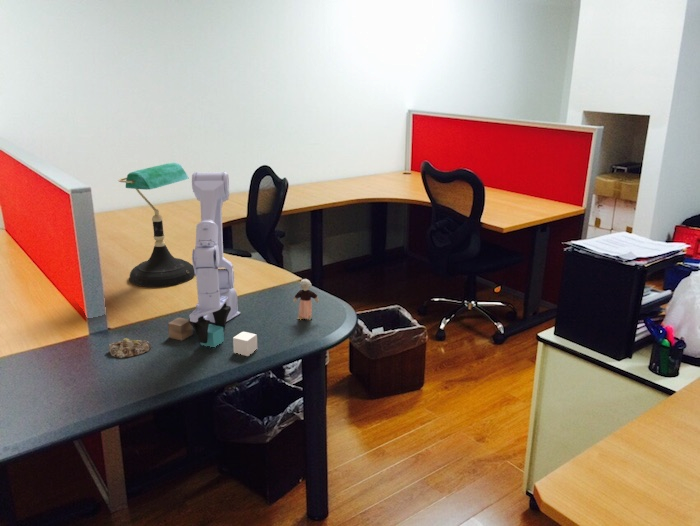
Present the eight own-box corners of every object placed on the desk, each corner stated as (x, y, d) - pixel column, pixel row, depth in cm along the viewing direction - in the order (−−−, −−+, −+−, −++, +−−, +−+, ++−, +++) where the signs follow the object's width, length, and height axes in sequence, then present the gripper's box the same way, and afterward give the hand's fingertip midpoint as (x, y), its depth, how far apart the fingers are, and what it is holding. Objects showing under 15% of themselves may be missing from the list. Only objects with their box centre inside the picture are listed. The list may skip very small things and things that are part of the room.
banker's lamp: (168, 292, 198) (156, 174, 186) (112, 284, 205) (97, 170, 193) (210, 268, 222) (202, 162, 210) (158, 262, 229) (148, 159, 217)
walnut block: (180, 331, 169) (178, 317, 167) (192, 334, 167) (191, 320, 165) (169, 337, 165) (167, 323, 163) (182, 340, 163) (180, 325, 162)
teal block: (211, 338, 164) (209, 324, 163) (224, 341, 162) (223, 327, 161) (200, 345, 160) (199, 330, 159) (214, 348, 159) (212, 333, 157)
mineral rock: (104, 353, 151) (110, 333, 157) (107, 365, 153) (112, 345, 160) (148, 351, 153) (151, 331, 159) (150, 363, 155) (153, 343, 162)
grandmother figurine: (294, 321, 175) (293, 281, 171) (293, 316, 179) (292, 277, 175) (319, 320, 176) (319, 280, 172) (318, 315, 180) (317, 276, 176)
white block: (243, 346, 160) (242, 331, 158) (257, 349, 158) (256, 334, 157) (233, 353, 156) (232, 337, 155) (247, 356, 154) (247, 341, 153)
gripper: (212, 279, 164) (216, 324, 169) (178, 296, 152) (182, 344, 156) (233, 283, 162) (236, 328, 166) (200, 301, 149) (204, 349, 153)
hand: (212, 336), depth 161 cm, fingers open, 7 cm apart
